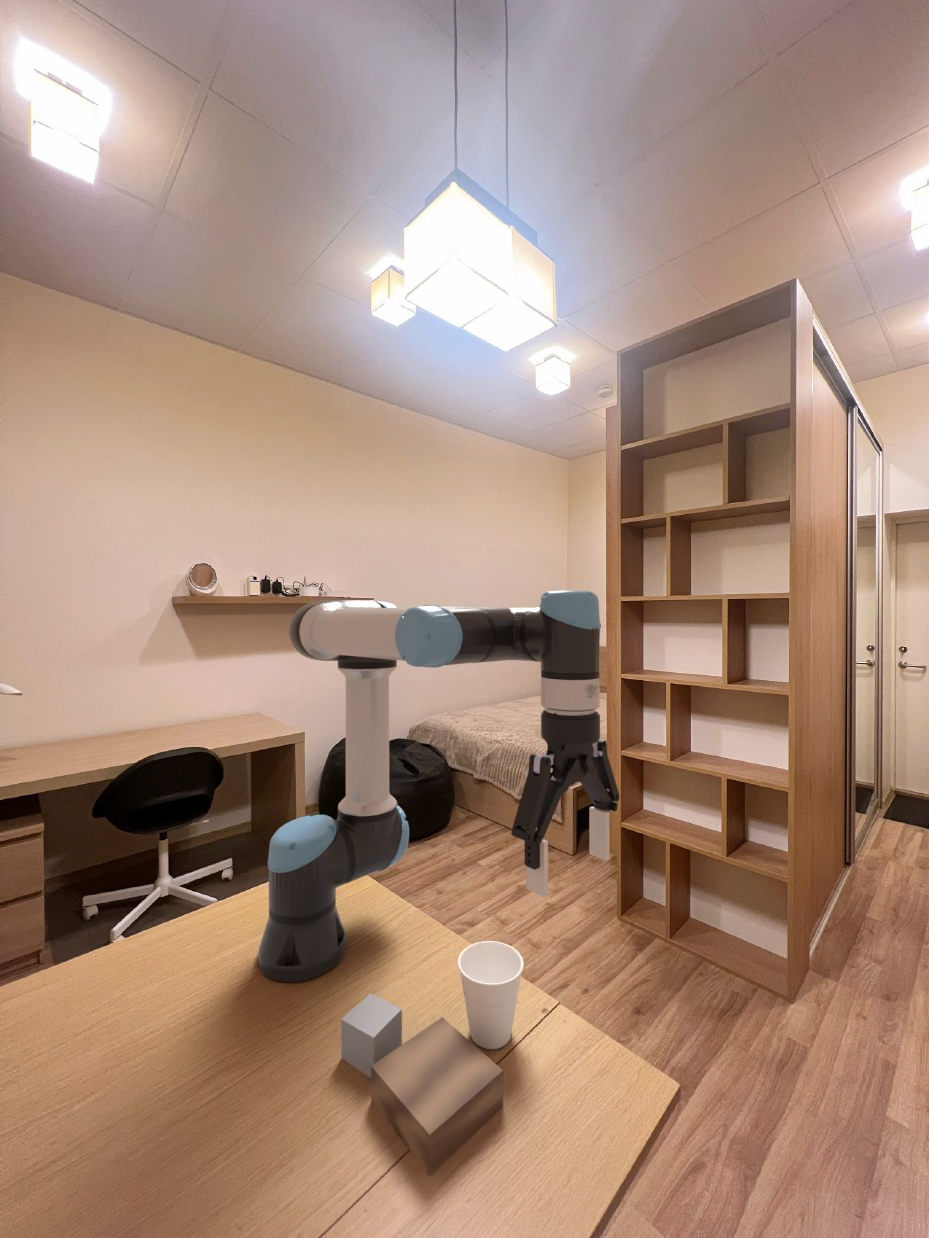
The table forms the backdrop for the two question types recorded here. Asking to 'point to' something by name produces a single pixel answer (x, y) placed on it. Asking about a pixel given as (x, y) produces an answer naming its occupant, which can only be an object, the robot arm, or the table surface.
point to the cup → (490, 990)
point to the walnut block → (436, 1092)
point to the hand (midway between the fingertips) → (570, 873)
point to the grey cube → (370, 1032)
